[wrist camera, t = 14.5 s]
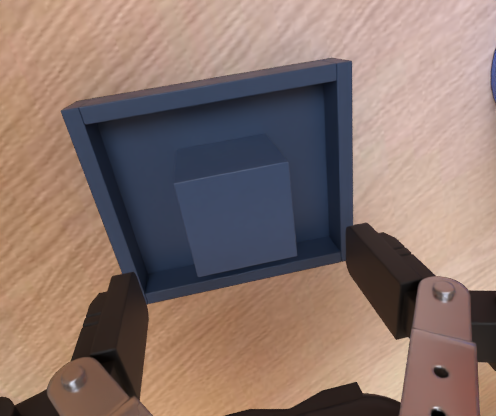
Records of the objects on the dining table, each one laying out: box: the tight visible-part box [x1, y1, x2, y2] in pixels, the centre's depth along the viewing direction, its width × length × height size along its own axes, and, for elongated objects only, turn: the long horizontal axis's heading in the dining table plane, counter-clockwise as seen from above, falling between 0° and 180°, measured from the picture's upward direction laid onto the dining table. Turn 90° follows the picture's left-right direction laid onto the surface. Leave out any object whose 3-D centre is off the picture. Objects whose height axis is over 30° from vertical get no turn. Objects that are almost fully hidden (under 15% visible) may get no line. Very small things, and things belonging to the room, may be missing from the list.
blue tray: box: [61, 58, 353, 304], centre depth 20 cm, size 14×12×3 cm
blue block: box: [174, 133, 297, 277], centre depth 18 cm, size 5×5×5 cm
